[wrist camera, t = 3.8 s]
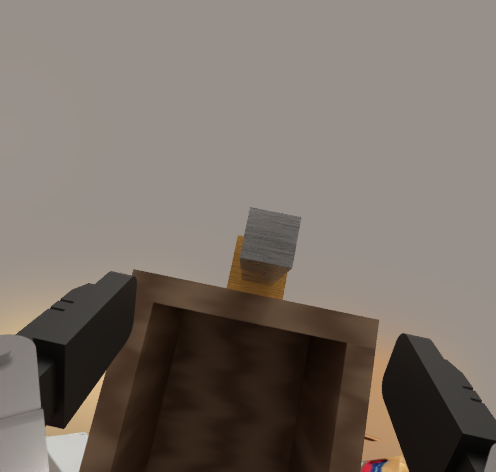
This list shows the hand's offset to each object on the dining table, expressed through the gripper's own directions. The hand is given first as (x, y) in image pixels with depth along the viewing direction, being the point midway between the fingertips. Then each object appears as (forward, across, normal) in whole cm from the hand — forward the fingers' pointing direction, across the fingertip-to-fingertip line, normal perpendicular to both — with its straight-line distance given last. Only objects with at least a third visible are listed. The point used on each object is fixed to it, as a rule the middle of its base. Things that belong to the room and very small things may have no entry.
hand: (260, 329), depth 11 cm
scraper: (+14, 0, +6) cm, 16 cm away
